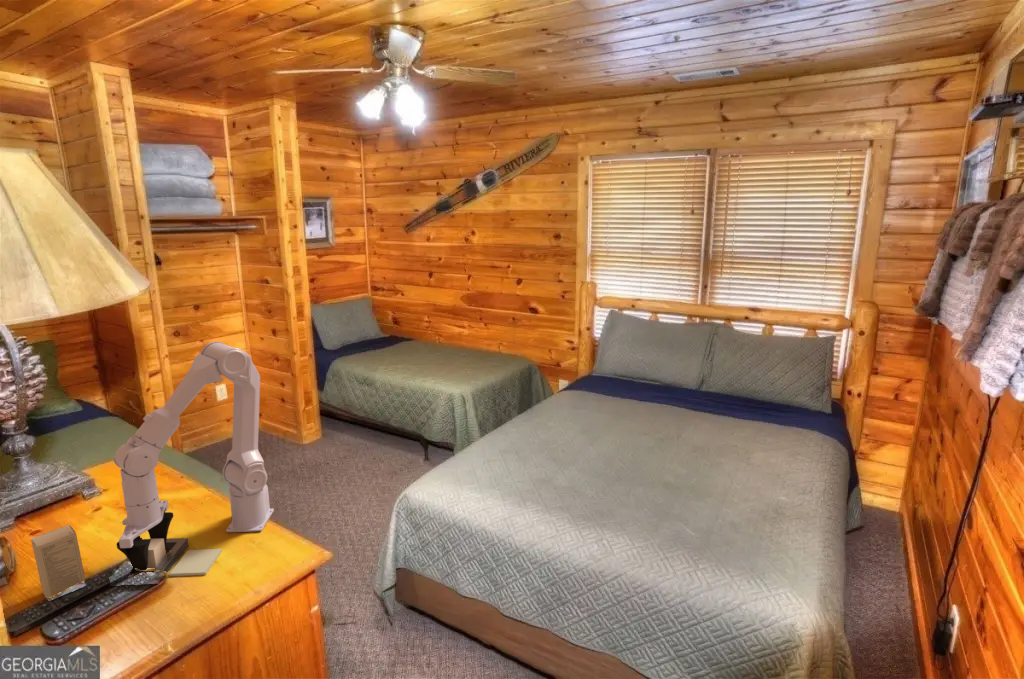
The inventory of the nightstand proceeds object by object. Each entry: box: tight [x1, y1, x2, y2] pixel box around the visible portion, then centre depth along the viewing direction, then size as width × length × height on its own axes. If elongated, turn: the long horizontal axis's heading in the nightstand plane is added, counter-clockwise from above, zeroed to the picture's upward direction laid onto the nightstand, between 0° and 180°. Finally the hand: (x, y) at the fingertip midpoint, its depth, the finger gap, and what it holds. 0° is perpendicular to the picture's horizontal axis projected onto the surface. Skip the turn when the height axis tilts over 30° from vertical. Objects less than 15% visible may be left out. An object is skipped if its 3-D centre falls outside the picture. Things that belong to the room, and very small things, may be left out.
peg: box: [147, 538, 167, 568], centre depth 115 cm, size 4×4×5 cm
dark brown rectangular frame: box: [124, 537, 190, 578], centre depth 116 cm, size 13×9×2 cm
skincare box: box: [30, 524, 86, 599], centre depth 106 cm, size 6×4×12 cm
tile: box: [168, 548, 223, 577], centre depth 117 cm, size 8×7×1 cm
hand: (150, 558), depth 116 cm, fingers open, 7 cm apart
